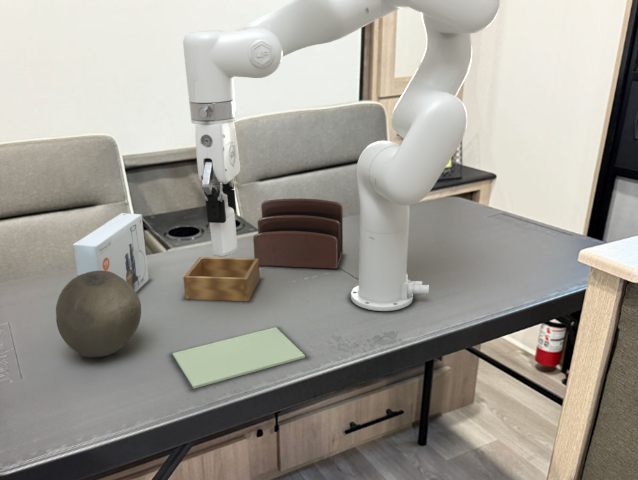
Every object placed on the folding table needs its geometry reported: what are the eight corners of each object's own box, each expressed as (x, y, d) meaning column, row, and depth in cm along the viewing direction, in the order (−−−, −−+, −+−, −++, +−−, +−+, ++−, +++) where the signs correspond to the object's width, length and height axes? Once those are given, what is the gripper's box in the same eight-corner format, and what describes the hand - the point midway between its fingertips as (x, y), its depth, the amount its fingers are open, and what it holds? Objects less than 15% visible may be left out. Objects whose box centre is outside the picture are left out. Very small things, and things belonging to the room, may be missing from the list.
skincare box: (108, 322, 119) (95, 246, 112) (83, 320, 120) (68, 244, 113) (151, 279, 137) (142, 212, 131) (129, 278, 138) (118, 211, 132)
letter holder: (264, 251, 151) (261, 196, 146) (343, 254, 148) (343, 198, 142) (254, 266, 143) (250, 208, 137) (337, 270, 139) (337, 210, 133)
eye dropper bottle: (244, 251, 111) (239, 187, 105) (217, 258, 108) (211, 193, 103) (232, 245, 114) (227, 182, 109) (206, 252, 111) (199, 188, 106)
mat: (276, 329, 113) (275, 326, 113) (305, 357, 104) (305, 355, 103) (172, 355, 106) (172, 353, 106) (193, 389, 96) (193, 386, 96)
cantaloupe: (68, 381, 99) (50, 298, 93) (61, 343, 111) (45, 268, 105) (153, 361, 104) (142, 281, 98) (138, 327, 116) (126, 254, 110)
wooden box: (259, 279, 135) (258, 258, 133) (248, 301, 125) (246, 279, 123) (201, 277, 138) (199, 257, 135) (185, 299, 127) (183, 277, 125)
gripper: (219, 120, 92) (229, 232, 100) (247, 104, 107) (254, 203, 115) (173, 120, 93) (186, 231, 101) (207, 105, 109) (216, 202, 116)
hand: (222, 215), depth 108 cm, fingers closed on eye dropper bottle, 5 cm apart
